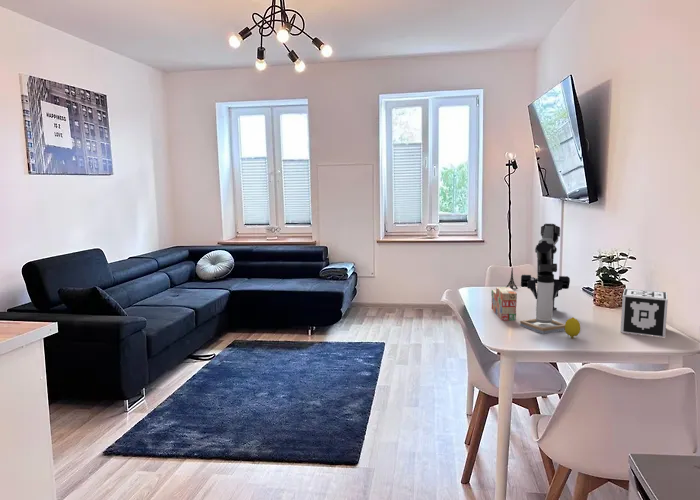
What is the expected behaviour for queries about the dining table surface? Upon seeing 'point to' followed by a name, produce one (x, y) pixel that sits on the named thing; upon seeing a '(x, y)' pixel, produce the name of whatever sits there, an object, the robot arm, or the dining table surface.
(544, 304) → the travel mug
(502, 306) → the stack of blocks
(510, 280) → the eiffel tower figurine
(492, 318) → the dining table surface
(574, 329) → the lemon
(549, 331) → the square wooden frame
